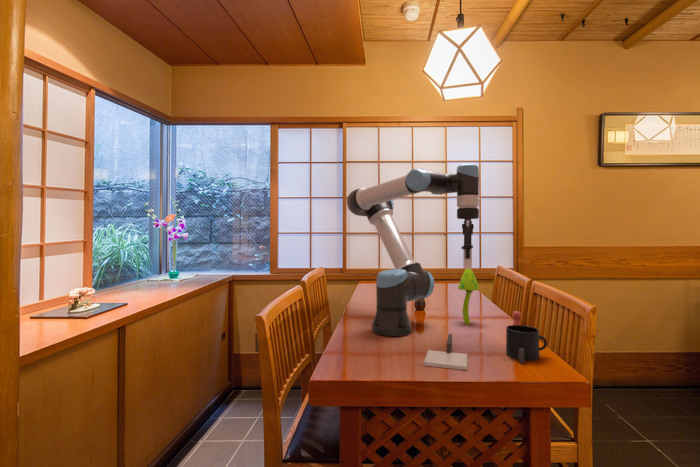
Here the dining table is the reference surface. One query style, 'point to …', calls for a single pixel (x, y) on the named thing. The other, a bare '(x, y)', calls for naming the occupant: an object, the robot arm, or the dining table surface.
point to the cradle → (516, 321)
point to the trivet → (446, 360)
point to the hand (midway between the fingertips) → (467, 267)
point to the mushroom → (467, 290)
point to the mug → (523, 342)
